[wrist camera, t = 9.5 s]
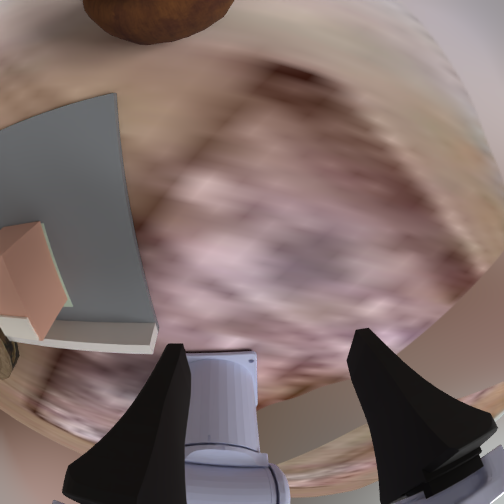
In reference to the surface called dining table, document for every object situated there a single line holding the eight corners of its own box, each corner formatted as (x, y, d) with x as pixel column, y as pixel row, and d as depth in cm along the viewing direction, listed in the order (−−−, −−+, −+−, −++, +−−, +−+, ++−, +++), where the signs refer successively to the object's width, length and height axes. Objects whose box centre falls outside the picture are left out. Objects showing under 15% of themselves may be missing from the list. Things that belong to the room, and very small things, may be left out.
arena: (159, 327, 23) (152, 354, 20) (21, 321, 22) (9, 340, 19) (116, 93, 14) (95, 92, 11) (-36, 149, 13) (-59, 158, 10)
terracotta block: (40, 221, 17) (0, 256, 12) (67, 299, 20) (41, 342, 16) (3, 227, 16) (-35, 259, 12) (31, 298, 20) (4, 337, 15)
